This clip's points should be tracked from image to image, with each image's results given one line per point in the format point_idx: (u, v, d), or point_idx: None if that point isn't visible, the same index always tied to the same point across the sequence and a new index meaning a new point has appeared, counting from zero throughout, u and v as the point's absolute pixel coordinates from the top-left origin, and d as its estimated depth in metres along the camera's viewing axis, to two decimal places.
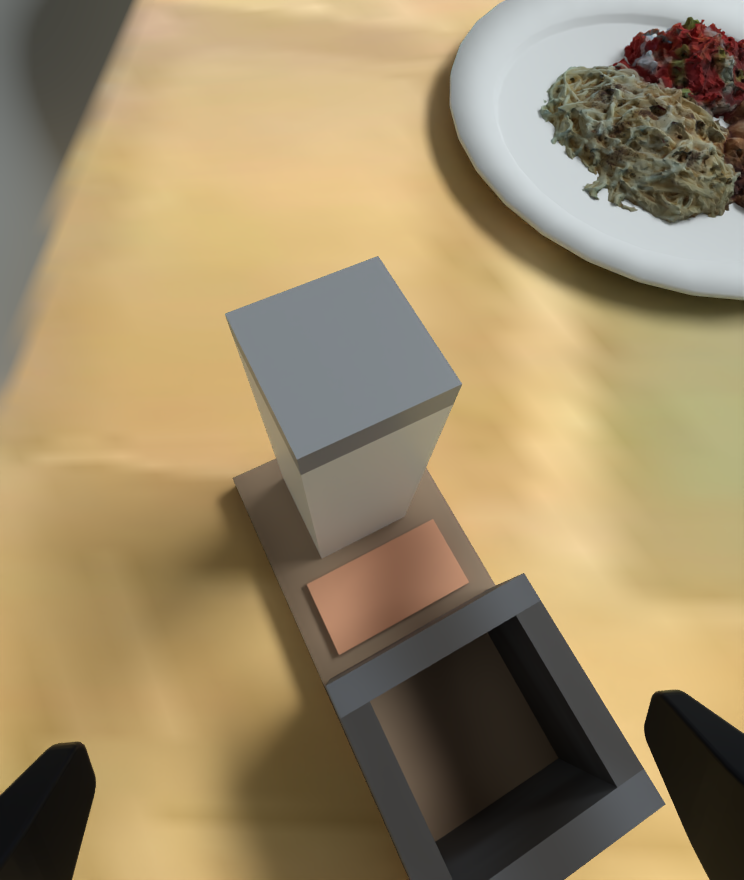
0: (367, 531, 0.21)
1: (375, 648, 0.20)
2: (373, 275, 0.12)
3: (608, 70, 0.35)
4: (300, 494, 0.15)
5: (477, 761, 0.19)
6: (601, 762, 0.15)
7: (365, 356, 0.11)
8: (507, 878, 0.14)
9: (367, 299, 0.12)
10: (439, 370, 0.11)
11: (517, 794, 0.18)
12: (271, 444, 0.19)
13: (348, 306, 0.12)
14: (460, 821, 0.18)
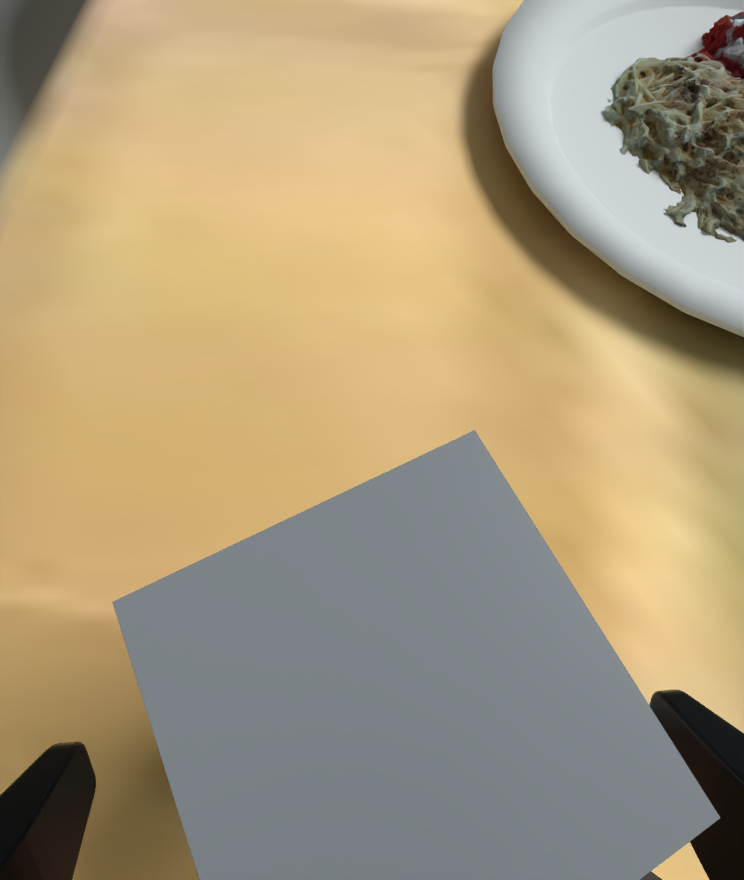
0: None
1: None
2: (467, 483, 0.05)
3: (688, 62, 0.28)
4: None
5: None
6: None
7: (464, 730, 0.04)
8: None
9: (458, 550, 0.05)
10: (655, 771, 0.04)
11: None
12: None
13: (414, 572, 0.05)
14: None
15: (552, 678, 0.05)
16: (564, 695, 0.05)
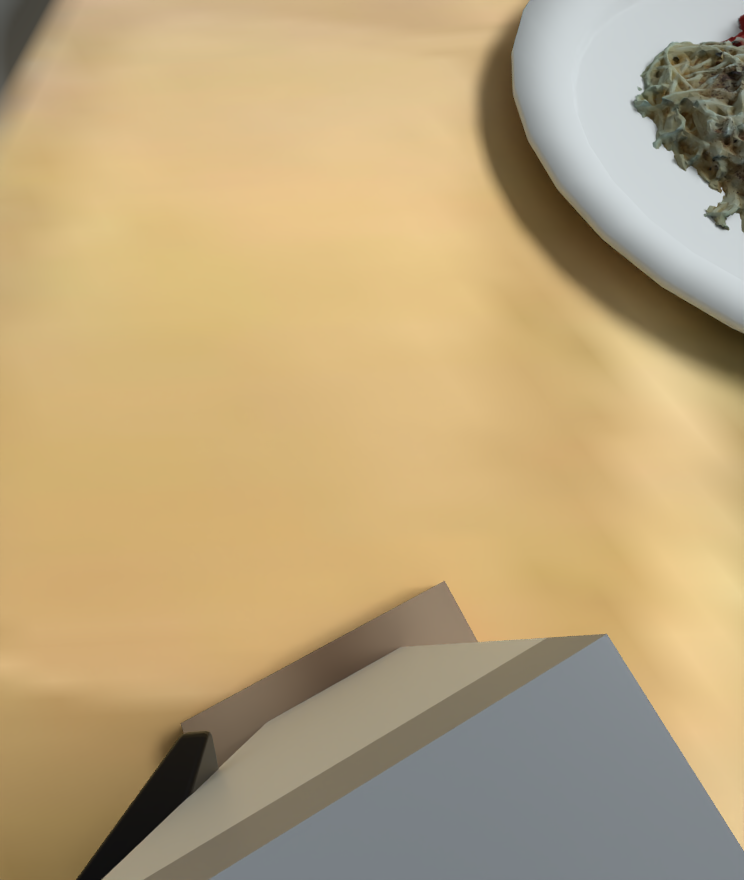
0: None
1: None
2: (603, 750, 0.03)
3: (727, 46, 0.25)
4: None
5: None
6: None
7: None
8: None
9: None
10: None
11: None
12: None
13: None
14: None
15: None
16: None
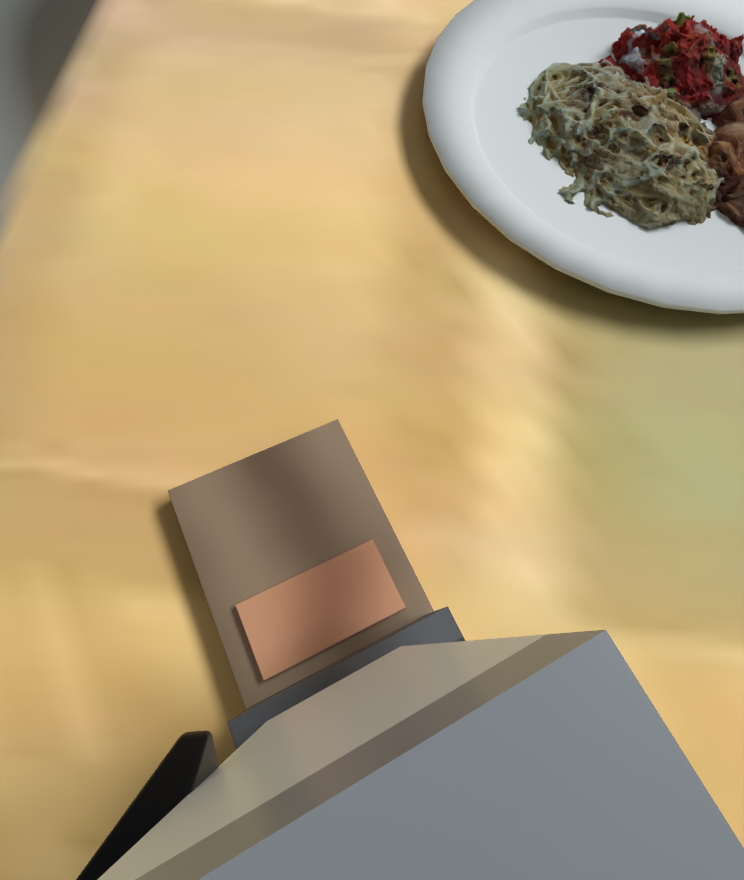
0: None
1: (303, 674, 0.20)
2: (603, 744, 0.03)
3: (592, 67, 0.34)
4: None
5: None
6: None
7: None
8: None
9: None
10: None
11: None
12: None
13: None
14: None
15: None
16: None
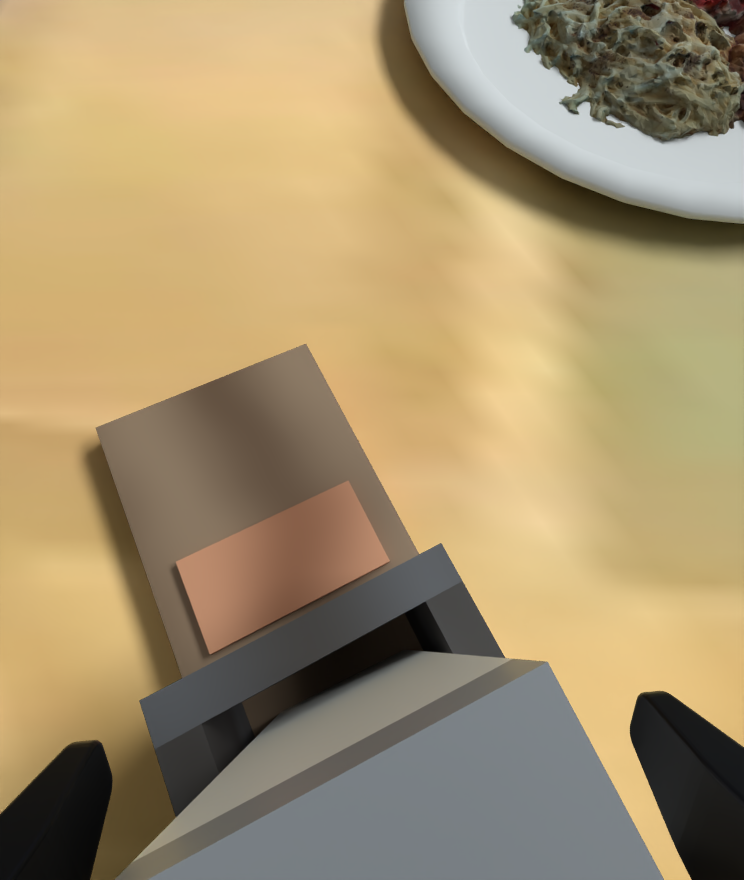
0: None
1: None
2: (539, 743, 0.04)
3: None
4: None
5: None
6: None
7: None
8: None
9: (527, 847, 0.04)
10: None
11: None
12: None
13: None
14: None
15: None
16: None
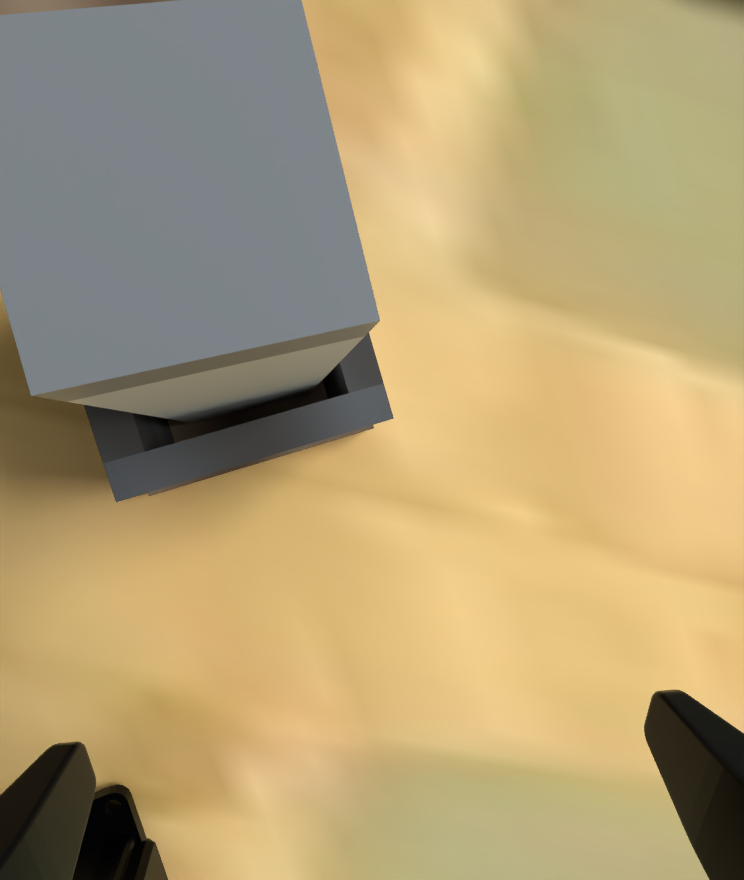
0: (254, 406, 0.17)
1: None
2: (277, 36, 0.06)
3: None
4: None
5: None
6: (341, 369, 0.14)
7: (215, 215, 0.06)
8: (200, 444, 0.13)
9: (250, 87, 0.06)
10: (347, 282, 0.06)
11: None
12: None
13: (207, 91, 0.06)
14: None
15: (295, 203, 0.06)
16: (300, 217, 0.06)
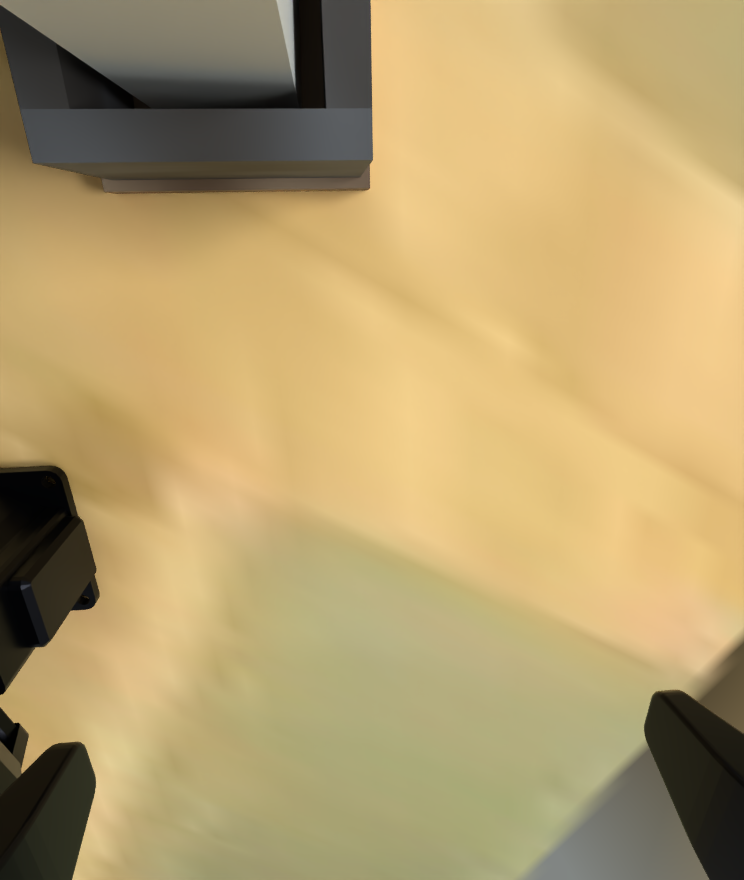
0: None
1: None
2: None
3: None
4: None
5: None
6: (324, 71, 0.11)
7: None
8: (136, 119, 0.11)
9: None
10: None
11: None
12: None
13: None
14: None
15: None
16: None
